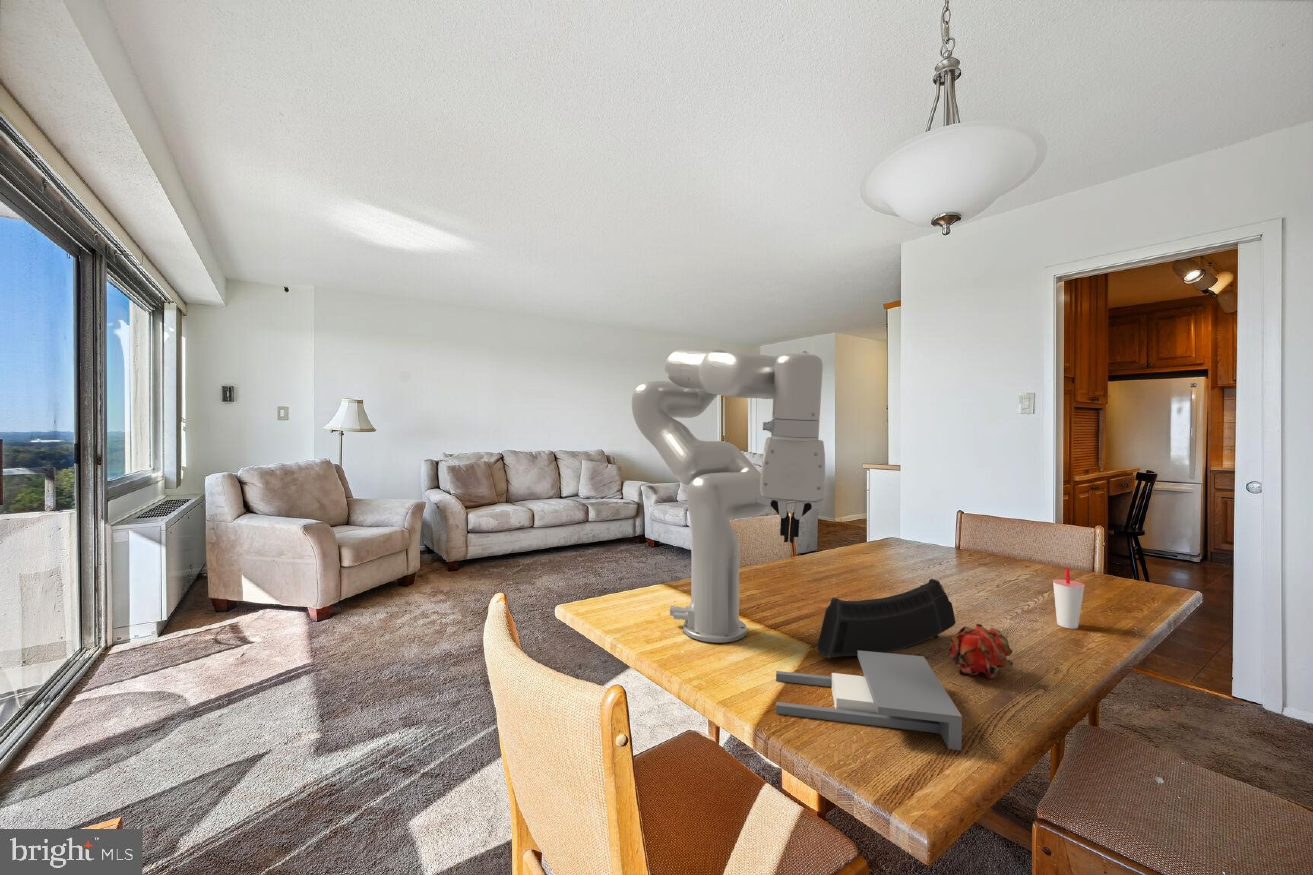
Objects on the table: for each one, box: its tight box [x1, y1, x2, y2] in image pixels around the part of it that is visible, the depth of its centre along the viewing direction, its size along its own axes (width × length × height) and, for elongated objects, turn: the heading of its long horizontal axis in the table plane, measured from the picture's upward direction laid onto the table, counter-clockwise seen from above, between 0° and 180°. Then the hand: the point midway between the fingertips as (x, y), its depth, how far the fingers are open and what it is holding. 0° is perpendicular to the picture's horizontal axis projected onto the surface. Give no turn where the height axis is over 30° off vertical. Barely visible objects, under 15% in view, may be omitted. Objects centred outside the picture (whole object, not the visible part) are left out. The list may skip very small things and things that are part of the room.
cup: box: [1052, 568, 1086, 630], centre depth 110 cm, size 5×5×12 cm
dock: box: [775, 650, 963, 751], centre depth 79 cm, size 23×18×4 cm
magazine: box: [816, 578, 956, 659], centre depth 99 cm, size 18×3×31 cm
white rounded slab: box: [831, 672, 878, 714], centre depth 78 cm, size 11×8×2 cm
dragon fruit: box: [948, 623, 1014, 680], centre depth 89 cm, size 8×8×12 cm
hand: (788, 540), depth 89 cm, fingers closed
